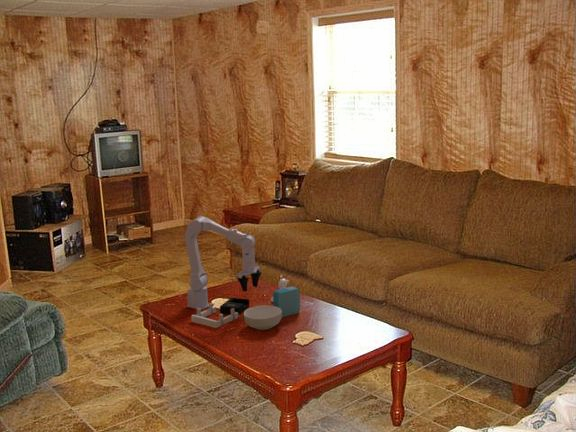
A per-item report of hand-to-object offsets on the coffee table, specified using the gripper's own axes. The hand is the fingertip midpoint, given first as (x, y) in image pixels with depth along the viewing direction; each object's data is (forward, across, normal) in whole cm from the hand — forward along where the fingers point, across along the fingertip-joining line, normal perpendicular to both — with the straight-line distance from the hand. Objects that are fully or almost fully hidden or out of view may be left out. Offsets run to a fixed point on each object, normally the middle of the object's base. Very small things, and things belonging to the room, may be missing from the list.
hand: (249, 288), depth 302 cm
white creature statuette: (+10, +17, -7) cm, 21 cm away
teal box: (+10, +4, -19) cm, 22 cm away
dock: (+10, -19, +5) cm, 22 cm away
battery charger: (+11, -5, +6) cm, 13 cm away
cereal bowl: (+10, -14, -19) cm, 26 cm away
